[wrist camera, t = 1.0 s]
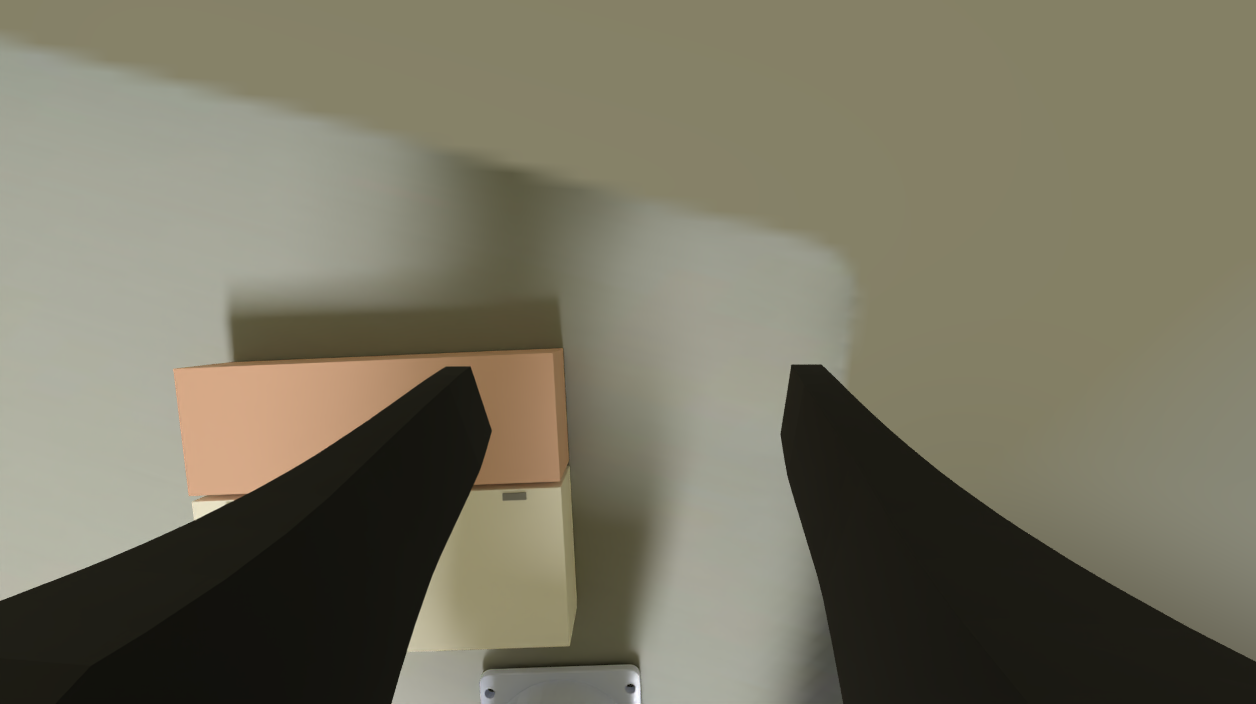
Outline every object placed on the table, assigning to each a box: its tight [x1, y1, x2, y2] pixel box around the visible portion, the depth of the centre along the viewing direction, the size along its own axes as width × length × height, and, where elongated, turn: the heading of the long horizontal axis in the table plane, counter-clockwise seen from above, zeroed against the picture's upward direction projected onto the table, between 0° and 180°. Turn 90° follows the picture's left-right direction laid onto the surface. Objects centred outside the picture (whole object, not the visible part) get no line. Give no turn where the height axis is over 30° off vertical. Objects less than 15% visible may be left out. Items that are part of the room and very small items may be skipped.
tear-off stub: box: [173, 348, 569, 496], centre depth 21 cm, size 6×16×3 cm, turn 93°
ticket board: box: [192, 466, 577, 652], centre depth 21 cm, size 7×16×3 cm, turn 93°
